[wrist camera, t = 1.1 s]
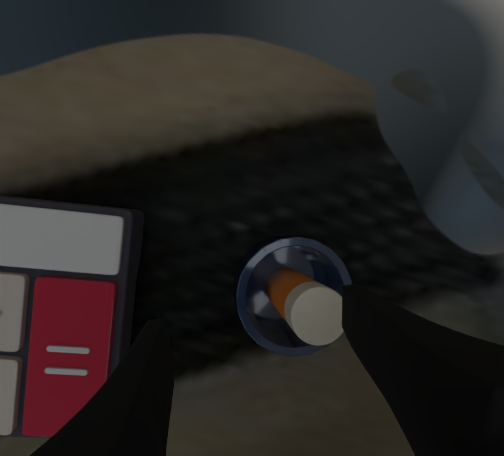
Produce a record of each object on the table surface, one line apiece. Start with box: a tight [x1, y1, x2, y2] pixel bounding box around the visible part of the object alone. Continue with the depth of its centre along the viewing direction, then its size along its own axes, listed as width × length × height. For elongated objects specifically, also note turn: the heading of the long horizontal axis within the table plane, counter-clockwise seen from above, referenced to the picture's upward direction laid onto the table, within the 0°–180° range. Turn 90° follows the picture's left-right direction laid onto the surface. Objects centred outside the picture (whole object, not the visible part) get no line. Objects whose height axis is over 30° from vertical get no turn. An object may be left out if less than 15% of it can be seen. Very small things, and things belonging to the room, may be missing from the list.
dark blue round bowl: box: [233, 236, 352, 356], centre depth 24 cm, size 8×8×4 cm
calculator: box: [0, 195, 144, 438], centre depth 22 cm, size 11×4×15 cm
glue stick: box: [266, 268, 344, 346], centre depth 21 cm, size 3×3×8 cm
